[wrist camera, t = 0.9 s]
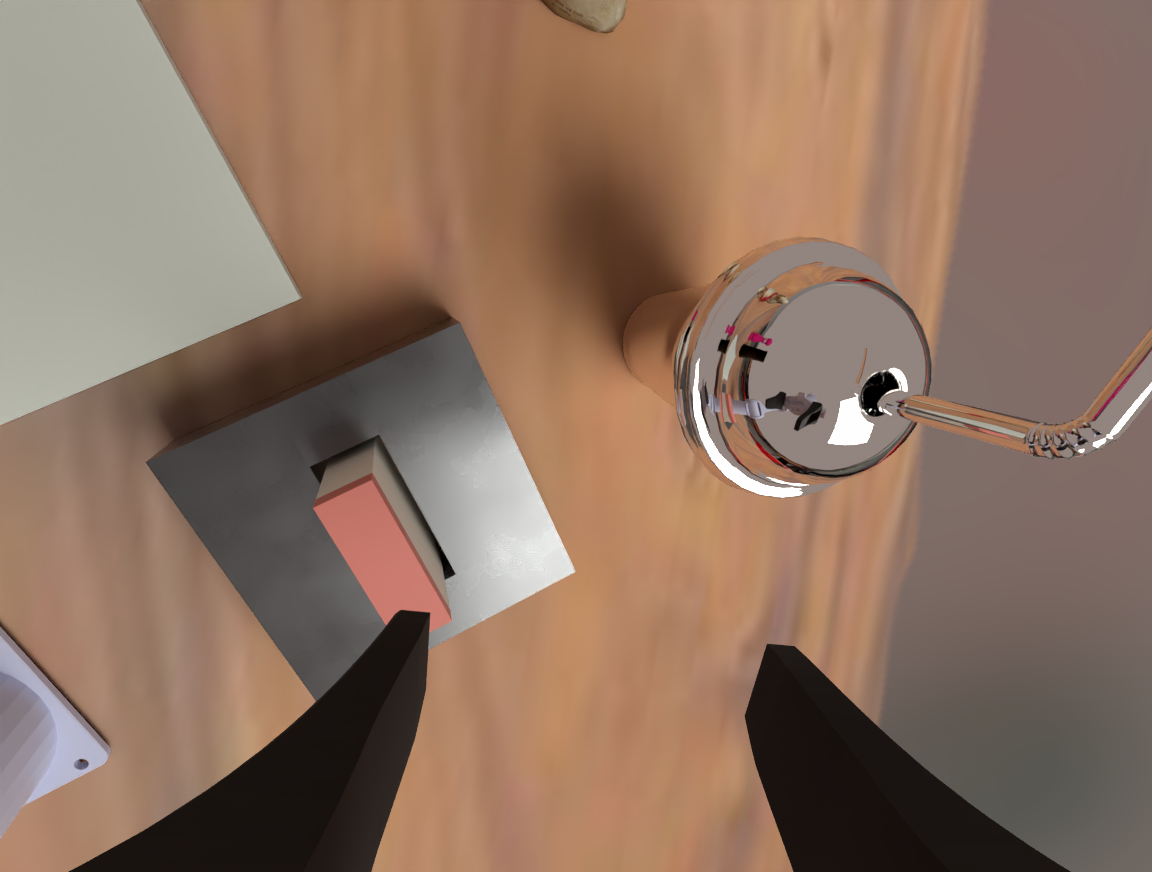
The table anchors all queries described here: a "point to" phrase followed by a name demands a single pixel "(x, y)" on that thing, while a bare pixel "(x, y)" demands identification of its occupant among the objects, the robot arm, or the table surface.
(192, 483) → the grey plate with slot
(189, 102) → the pad
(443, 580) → the pink topped brick
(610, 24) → the chocolate bunny
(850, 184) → the table surface
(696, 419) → the cup with straw
